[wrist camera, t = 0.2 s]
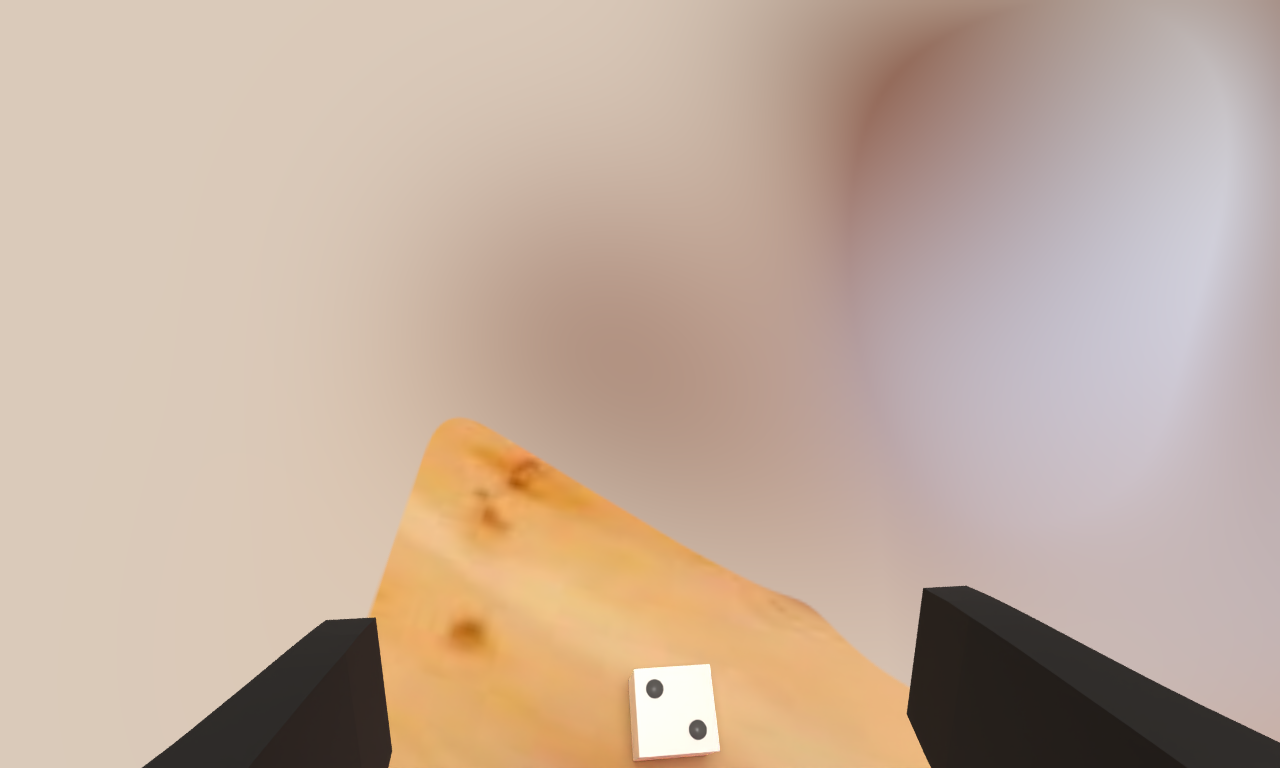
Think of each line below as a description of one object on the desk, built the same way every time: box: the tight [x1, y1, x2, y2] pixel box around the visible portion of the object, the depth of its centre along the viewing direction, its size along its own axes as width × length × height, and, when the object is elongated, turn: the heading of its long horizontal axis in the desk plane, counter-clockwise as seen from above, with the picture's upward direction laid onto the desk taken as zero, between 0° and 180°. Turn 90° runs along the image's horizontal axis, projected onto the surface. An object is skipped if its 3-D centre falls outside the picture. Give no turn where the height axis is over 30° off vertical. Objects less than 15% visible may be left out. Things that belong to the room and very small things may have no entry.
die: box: [628, 664, 720, 761], centre depth 35 cm, size 4×4×4 cm
